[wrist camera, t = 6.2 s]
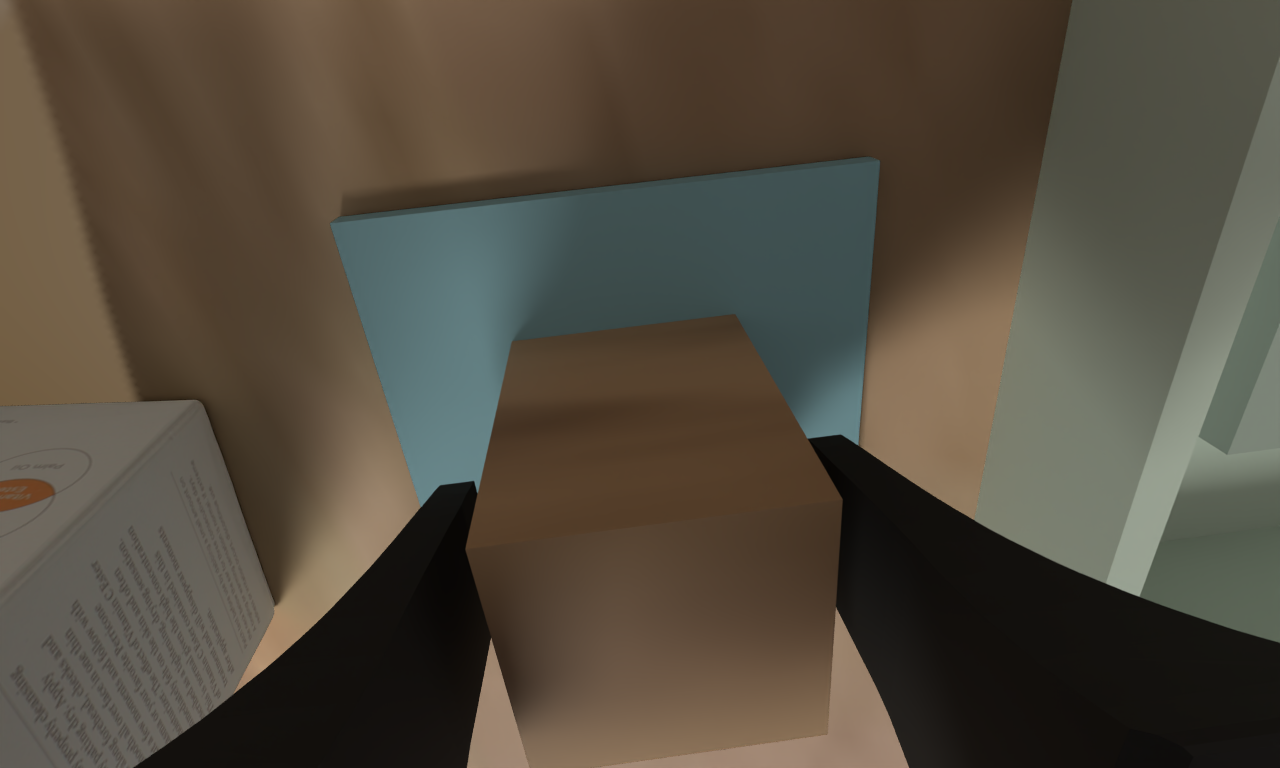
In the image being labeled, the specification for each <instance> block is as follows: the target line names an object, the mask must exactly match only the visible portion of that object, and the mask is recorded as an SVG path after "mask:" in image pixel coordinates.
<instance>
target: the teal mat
mask: <svg viewBox="0 0 1280 768" xmlns="http://www.w3.org/2000/svg"><path fill="white" fill-rule="evenodd" d="M879 171H880V160H877V159H875V158H872V157H870V156H869V157H860V158H852V159H843V160H834V161H825V162H816V163H808V164H799V165H790V166H781V167H772V168H764V169H755V170H746V171H737V172H729V173H720V174H711V175H702V176H693V177H685V178H676V179H667V180H658V181H649V182H641V183H632V184H623V185H614V186H606V187H597V188H588V189H579V190H570V191H562V192H553V193H544V194H535V195H526V196H518V197H509V198H500V199H491V200H483V201H474V202H465V203H456V204H447V205H439V206H430V207H421V208H412V209H403V210H395V211H386V212H377V213H368V214H360V215H351V216H342V217H338V218H337V219H335V220H334V221H332V222H331V223H330V226H331V229H332V232H333V235H334V238H335V241H336V245H337V248H338V251H339V254H340V257H341V260H342V263H343V266H344V269H345V273H346V276H347V279H348V282H349V285H350V288H351V291H352V294H353V297H354V301H355V304H356V307H357V310H358V313H359V316H360V319H361V322H362V325H363V329H364V332H365V335H366V338H367V341H368V344H369V347H370V350H371V353H372V357H373V360H374V363H375V366H376V369H377V372H378V375H379V378H380V381H381V385H382V388H383V391H384V394H385V397H386V400H387V403H388V406H389V409H390V413H391V416H392V419H393V422H394V425H395V428H396V431H397V434H398V437H399V441H400V444H401V447H402V450H403V453H404V456H405V459H406V462H407V465H408V469H409V472H410V475H411V478H412V481H413V484H414V487H415V490H416V494H417V497H418V500H419V503H420V506H421V507H422V505H423V504H424V503H425V502H426V501H427V500H428V498H429V497H430V496H431V495H432V494H433V492H434V491H435V490H436V489H437V488H438V487H439V485H445V484H453V483H461V482H469V481H474V482H475V486H476V490H477V493H478V490H479V486H480V481H481V477H482V472H483V468H484V463H485V459H486V454H487V450H488V445H489V441H490V437H491V432H492V428H493V423H494V419H495V414H496V410H497V405H498V401H499V396H500V392H501V387H502V383H503V378H504V374H505V370H506V365H507V361H508V356H509V352H510V347H511V343H512V341H519V340H527V339H535V338H543V337H551V336H560V335H568V334H576V333H584V332H592V331H600V330H609V329H617V328H625V327H633V326H641V325H649V324H658V323H666V322H674V321H682V320H690V319H698V318H707V317H715V316H723V315H731V314H736V316H737V318H738V320H739V321H740V323H741V325H742V327H743V328H744V330H745V332H746V333H747V335H748V337H749V339H750V340H751V342H752V344H753V346H754V347H755V349H756V351H757V352H758V354H759V356H760V358H761V359H762V361H763V363H764V365H765V366H766V368H767V370H768V371H769V373H770V375H771V377H772V378H773V380H774V382H775V384H776V385H777V387H778V389H779V390H780V392H781V394H782V396H783V397H784V399H785V401H786V403H787V404H788V406H789V408H790V409H791V411H792V413H793V415H794V416H795V418H796V420H797V422H798V423H799V425H800V427H801V428H802V430H803V432H804V434H805V435H806V437H807V439H808V438H816V437H824V436H832V435H840V434H841V435H843V436H844V437H846V438H848V439H849V440H851V441H852V442H854V443H855V444H857V445H858V441H859V428H860V416H861V403H862V390H863V377H864V364H865V351H866V338H867V325H868V312H869V300H870V287H871V274H872V261H873V248H874V235H875V222H876V209H877V196H878V184H879Z"/></svg>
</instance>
